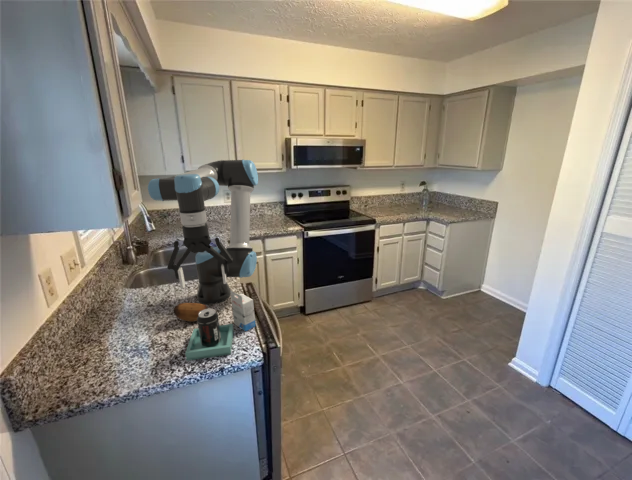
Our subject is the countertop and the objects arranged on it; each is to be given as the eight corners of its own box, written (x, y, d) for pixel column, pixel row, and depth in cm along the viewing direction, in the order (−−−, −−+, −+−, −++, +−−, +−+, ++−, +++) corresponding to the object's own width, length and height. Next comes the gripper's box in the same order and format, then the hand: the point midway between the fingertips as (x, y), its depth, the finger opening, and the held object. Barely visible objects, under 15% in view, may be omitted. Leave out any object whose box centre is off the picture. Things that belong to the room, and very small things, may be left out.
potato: (207, 322, 122) (207, 321, 115) (172, 321, 118) (170, 320, 111) (209, 304, 125) (210, 302, 118) (175, 303, 120) (173, 300, 113)
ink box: (256, 326, 113) (253, 292, 109) (245, 332, 110) (241, 297, 106) (244, 318, 119) (240, 285, 115) (233, 323, 116) (229, 290, 111)
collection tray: (195, 335, 108) (193, 328, 108) (233, 330, 111) (232, 323, 110) (186, 360, 95) (185, 353, 94) (230, 354, 98) (229, 346, 97)
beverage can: (198, 349, 99) (193, 318, 96) (204, 337, 106) (199, 308, 102) (218, 348, 100) (214, 317, 96) (223, 336, 106) (219, 307, 103)
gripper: (148, 230, 86) (161, 294, 93) (234, 224, 91) (241, 285, 98) (155, 224, 93) (168, 283, 100) (235, 218, 98) (242, 275, 105)
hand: (204, 284), depth 99 cm, fingers open, 13 cm apart
